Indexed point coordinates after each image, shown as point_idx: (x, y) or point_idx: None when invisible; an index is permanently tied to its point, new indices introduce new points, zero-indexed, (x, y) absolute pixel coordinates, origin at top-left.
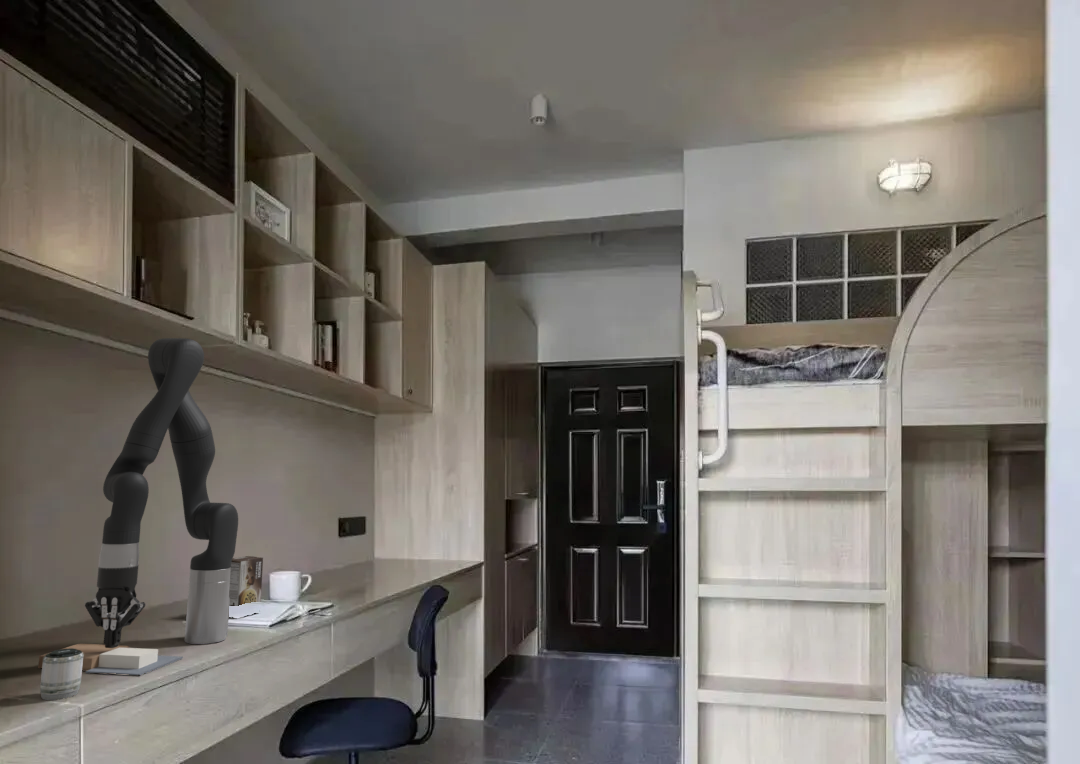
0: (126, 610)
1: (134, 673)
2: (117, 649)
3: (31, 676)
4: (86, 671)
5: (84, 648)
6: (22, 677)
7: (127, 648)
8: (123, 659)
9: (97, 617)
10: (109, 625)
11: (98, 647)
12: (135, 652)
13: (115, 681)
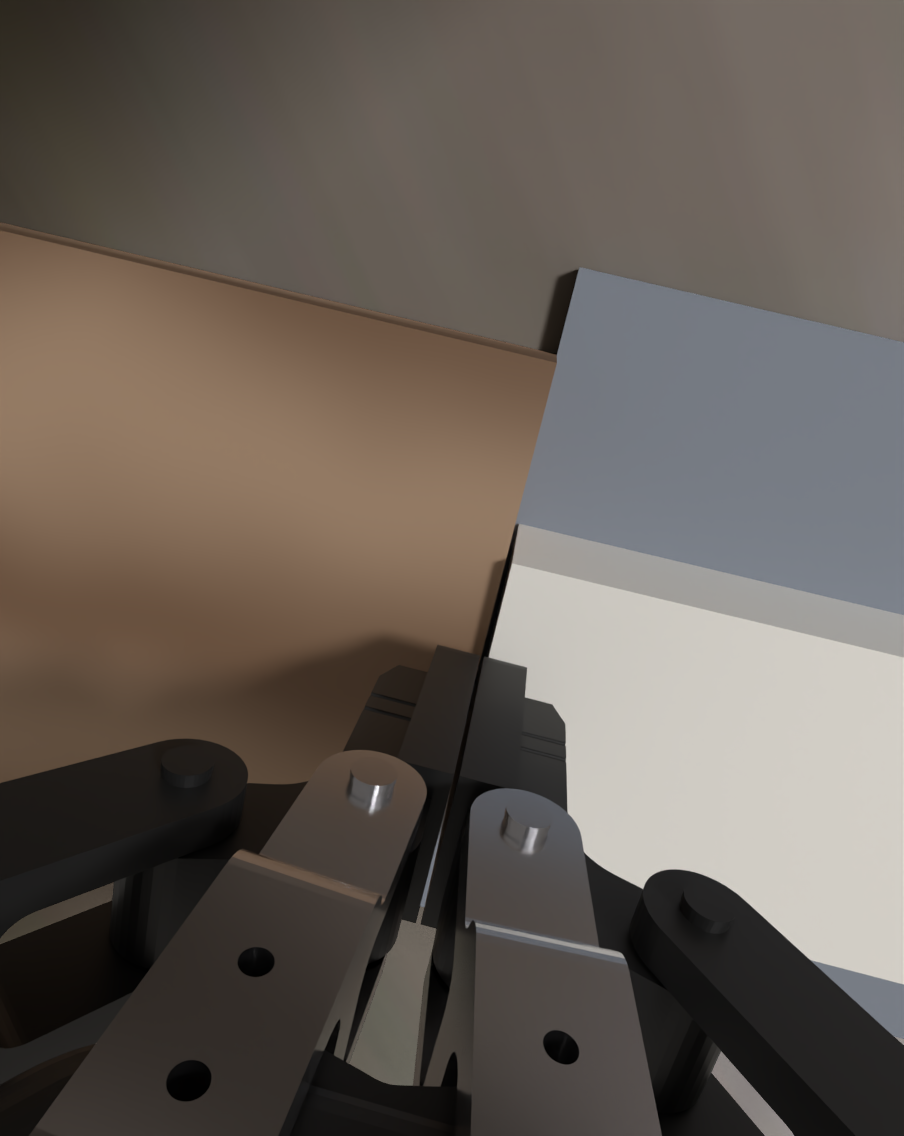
0: (638, 1102)
1: (879, 1021)
2: (534, 667)
3: (59, 915)
4: (424, 905)
5: (67, 480)
6: (16, 931)
7: (639, 624)
8: None
9: (66, 1048)
10: (382, 964)
11: (201, 439)
12: (817, 827)
13: (768, 1121)
